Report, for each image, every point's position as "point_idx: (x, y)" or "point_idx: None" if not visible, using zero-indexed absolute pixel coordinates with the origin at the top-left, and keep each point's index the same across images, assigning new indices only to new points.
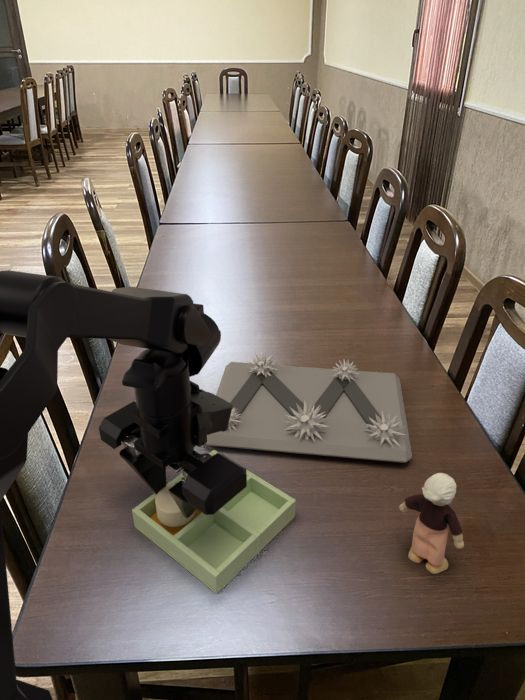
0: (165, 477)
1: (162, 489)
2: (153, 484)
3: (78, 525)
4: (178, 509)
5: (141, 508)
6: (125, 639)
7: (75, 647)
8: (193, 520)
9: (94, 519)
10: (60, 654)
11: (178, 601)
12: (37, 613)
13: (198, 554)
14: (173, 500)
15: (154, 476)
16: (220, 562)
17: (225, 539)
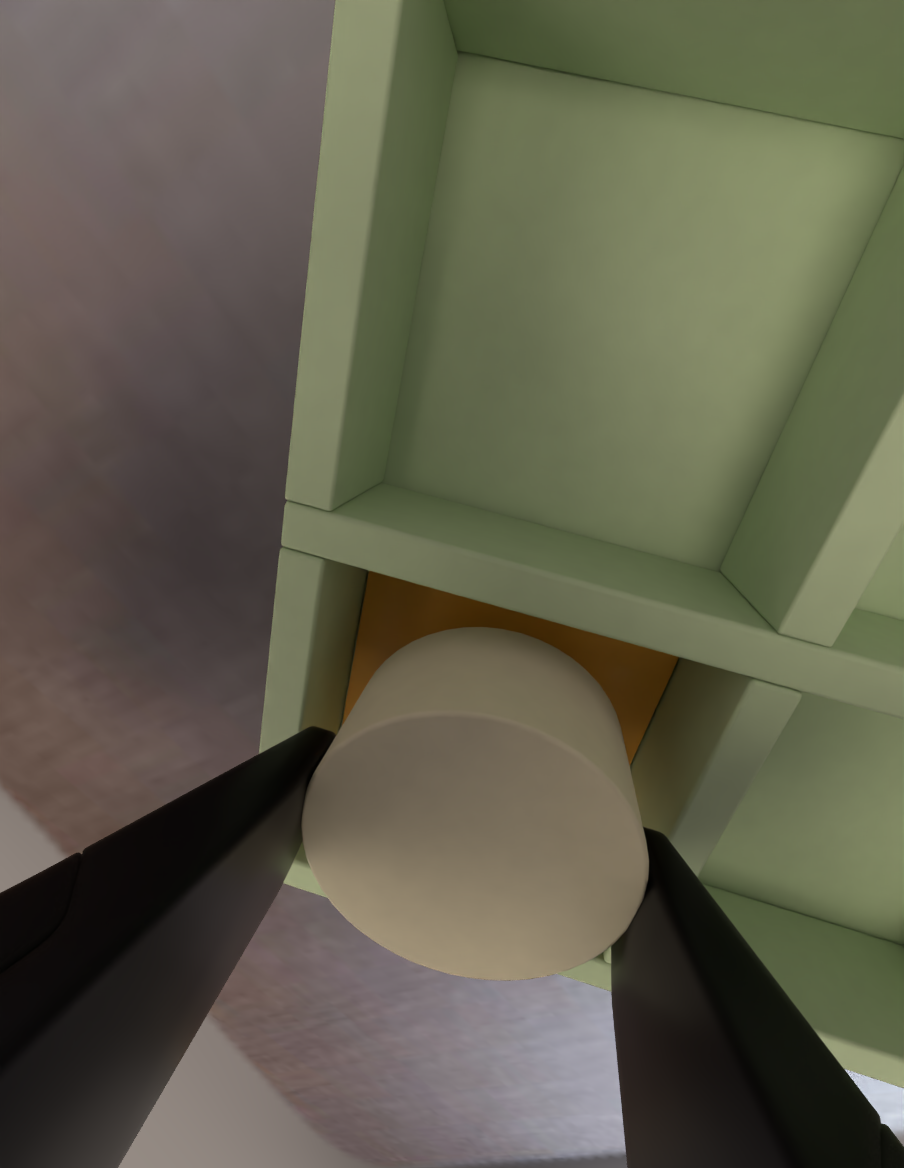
0: (249, 833)
1: (310, 815)
2: (226, 959)
3: (113, 825)
4: (566, 942)
5: None
6: (606, 1113)
7: (476, 1138)
8: (675, 844)
9: (135, 784)
10: (452, 1152)
11: None
12: (299, 1083)
13: (731, 839)
14: (472, 887)
15: (162, 1031)
16: (887, 849)
17: (864, 709)
